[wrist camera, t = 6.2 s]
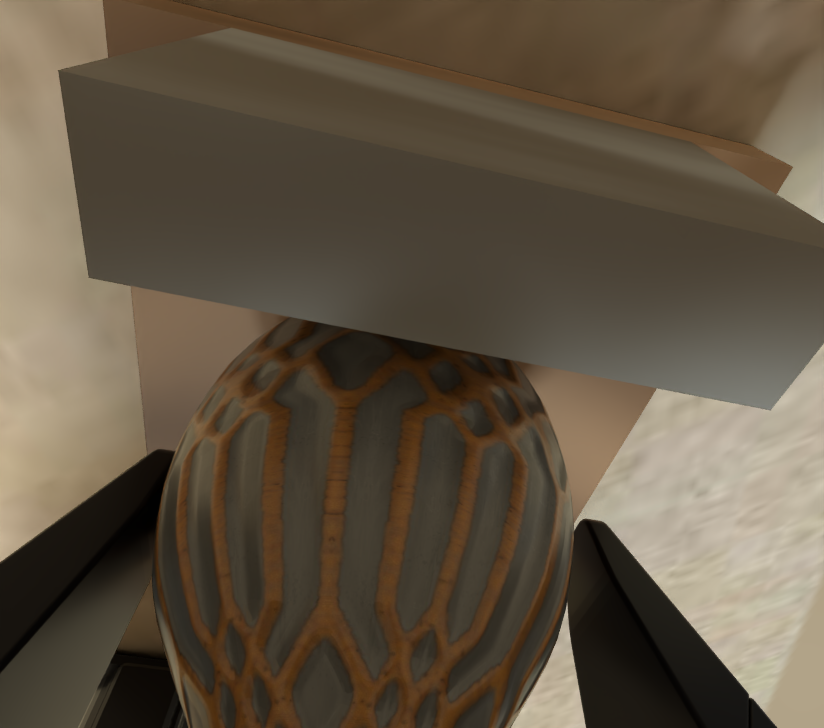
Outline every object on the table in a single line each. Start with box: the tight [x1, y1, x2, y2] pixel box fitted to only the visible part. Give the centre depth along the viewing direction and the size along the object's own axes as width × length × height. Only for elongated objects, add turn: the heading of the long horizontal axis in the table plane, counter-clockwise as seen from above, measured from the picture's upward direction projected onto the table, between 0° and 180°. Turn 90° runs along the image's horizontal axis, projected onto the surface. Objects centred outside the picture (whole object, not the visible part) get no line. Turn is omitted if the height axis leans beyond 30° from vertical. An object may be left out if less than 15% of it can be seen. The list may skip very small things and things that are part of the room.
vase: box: [152, 317, 574, 728], centre depth 9 cm, size 7×7×9 cm
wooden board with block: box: [58, 0, 824, 522], centre depth 13 cm, size 20×12×6 cm, turn 168°
